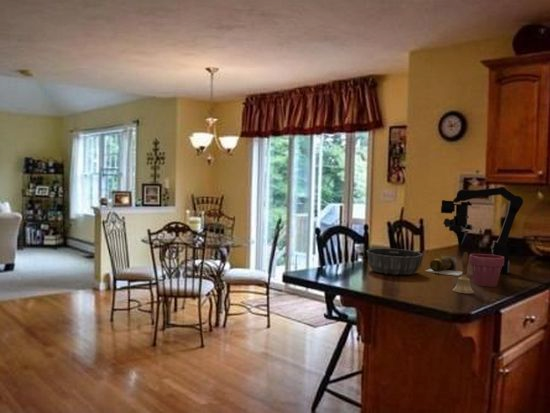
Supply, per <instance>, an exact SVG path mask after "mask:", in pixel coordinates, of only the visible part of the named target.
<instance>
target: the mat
mask: <svg viewBox="0 0 550 413" xmlns="http://www.w3.org/2000/svg"><path fill="white" fill-rule="evenodd" d="M424 272H425V273H432V274H438V273H439V274H440V275H447V276H451V277H452V276H453V277H454V276H455V277H461V276H462V273H463V272H462V271H458V270H456V271H452V270H441V271H434V270H432V269H431V268H428V269H426V270H424ZM439 274H438V275H439Z"/></svg>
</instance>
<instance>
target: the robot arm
mask: <svg viewBox="0 0 550 413" xmlns="http://www.w3.org/2000/svg"><path fill="white" fill-rule="evenodd" d="M498 195H500V196H501V197H503V198H504V199H505V200H506V201H507V202H508V205H507V213H506V216H505V219H504V221H503V224H502V228H501V231H500V232H499V236H498V238H497V240H493V241H492V245H491V247H490V249H491V254H492V255H498V256H503V257H504V266H502V268H501V272H500V274H506V275H507V274H510V272H511V271H510V257H509V255H508V254H507V253H506V251H507V243H508V238H509V236H510V232H511V230H512V226H513V224H514V222H515V221H514V220H515V219H516V215H517V214H518V212H519V211H520V209H521V207H522V206H523V204H524V199H523V198H522V197H521V196H519V195H515V194H513V193H512V192H510V191H509V190H508V189H506V187H504V186H499V187H493V188H484V189H477V190H476V189H475V190H474V189H473V190H472V189H459V190H458V191H457V192H456V196H455V198H454V199H453V200H445V199H442V200H441V207H440V214H453V213H454V212H455V215H454V216H453V218H452V219H450V218H449V217H448V218H444V221H443V223H442V224H443V225H444V227H445V228H448V227H449V228H448V231H450V232H453V233H454V234H455V235H456V238H457V240H458V241H457V242H458V245H463V243H464V240H465V239H466V236H467V235H468V233H469V231H472V230H473V229H474V228H473V225H472V224H469V223H468V219H469V217H470V216H469V215H468V213H469V210H468V209H469V206H471V207H472V206H473V204H472V203H471V202H470V200H471V199H472V200H473V199H475V198H481V197H490V196H491V197H492V196H498ZM459 202H460V203H459Z"/></svg>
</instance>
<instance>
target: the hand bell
mask: <svg viewBox="0 0 550 413" xmlns="http://www.w3.org/2000/svg"><path fill="white" fill-rule="evenodd" d="M469 258H470V256H469V254H468V252H466V251H465V252H463V255H462V258H461V265H462V271H461V272H463V273H462V275H460V276H458V278H457V282H456V285H455V287H454V288H453V289H452V291H453V292H455V293H460V294H466V295H467V294H470V295H471V294H475V291H474V290H473V289H472V286H471V279H470V278H468V276H467V272H468V270H467V269H468V266H469V264H470V263H469Z"/></svg>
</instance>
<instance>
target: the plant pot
mask: <svg viewBox="0 0 550 413" xmlns="http://www.w3.org/2000/svg"><path fill="white" fill-rule="evenodd" d="M468 264H470V266H471V272H472V279H473V284H474V285H477V286H482V287H489V288H490V287H497V286H498V282H499V278H500V275H501V273H500V272H501V268H502V266H504V257H503V256H498V255H493V254H487V253H470V254H469V263H468Z"/></svg>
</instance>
